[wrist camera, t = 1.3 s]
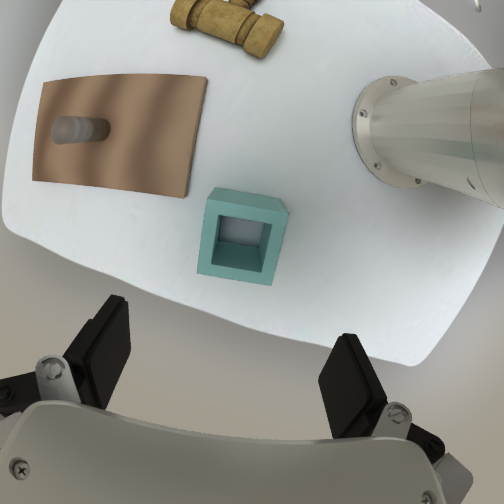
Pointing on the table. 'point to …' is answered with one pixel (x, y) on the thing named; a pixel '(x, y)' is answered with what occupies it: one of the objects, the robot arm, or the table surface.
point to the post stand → (119, 132)
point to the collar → (236, 255)
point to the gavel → (229, 22)
